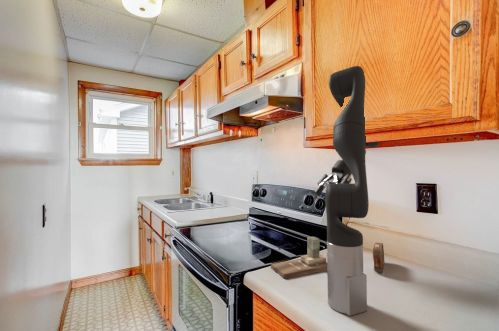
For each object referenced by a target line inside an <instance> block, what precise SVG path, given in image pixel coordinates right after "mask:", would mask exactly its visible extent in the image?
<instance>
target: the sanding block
mask: <svg viewBox="0 0 499 331" xmlns="http://www.w3.org/2000/svg"><path fill="white" fill-rule="evenodd" d="M320 242H321V241H320V238H318V237H316V236H308V237H307V242H306V243H307V245H306V246H307V248H306V250H307V252H306V253H307V254H304V255H300V259H301V262H303V263H305V264H307V265H308V266H309V265H315V264H321V263H326V262H327V256H324V255H322V254H321V253H320V244H321V243H320Z"/></svg>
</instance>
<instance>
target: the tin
mask: <svg viewBox="0 0 499 331" xmlns="http://www.w3.org/2000/svg"><path fill="white" fill-rule="evenodd" d="M384 250H385V249H384V243H383V242H375V243H374V245H373V247H372V259H373V270H374V272H378V273H384V269H385V252H384Z"/></svg>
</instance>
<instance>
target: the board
mask: <svg viewBox="0 0 499 331" xmlns="http://www.w3.org/2000/svg"><path fill="white" fill-rule="evenodd" d="M270 269H271V270H273V271H274V272H275V273H277V274H278V275H279V276H280V277H281V278H283V279H284V280H286V279H290V278H294V277H299V276H305V275H309V274H314V273H319V272H323V271H327V261H326V263H321V264H315V265H309V266H308V265H307V264H305V263H303V262H301V258H299V259H298V258H297V259H292V260H287V261H280V262H279V261H278V262H275V263H271V264H270Z"/></svg>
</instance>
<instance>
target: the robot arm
mask: <svg viewBox="0 0 499 331" xmlns="http://www.w3.org/2000/svg"><path fill="white" fill-rule="evenodd" d="M364 74H365V71H364V70H363V68H362V67H361V66H359V65H354V66H350V67H347V68H345V69H341V70H337V71H336V72H333V73H330V75H329V77H328V87H329V91H330V93H331V95H332V97H333V98H334V100H335V102H336V103H337V105H338V107H340V108H341V107H342V106H343V103H344V98H345V97H348V98H349V97H350V98H349V99H350V100H349V102H348V104H347V105H346V107H345V108H344V110H342V111H341V112H340V113H339V115H338V116H337V118H336V119H335V122H334V123H333V130H332V131H333V132H332V146H333V148H334V150H335V151H336V153H337V155H338V156H339V158H338V160H336V162H335V163H334V165H333V166H332V167H331V173H330V174H327V173H324V174H323V175H322V177H321V178H320V179H319V180H318V181H317V183H316V184H317V186H318V187H317V188H316V189H315V191H314V194H315V196H320V195H321V194H322V193H323V191H324V190H325V193H324V194H325V199H324V200H325V214H326V233H327V234H326V251H327V252H326V254H327V255H326V262H327V270H326V271H327V272H326V273H327V304H328V306H329V307H330V308H331V309H333V310H335V311H336V312H339V313H342V314H345V315H347V316H349V317H351V316H354V315H357V314H361V313H363V312H367V311H368V295H367V294H368V286H367V282H368V280H367V274H366V273H364V236H363V233H362V232H361V231H359V230H358V229H356V228H353V227H351V226H348V225H347V224H345V223H344V222H342V221H341V219H340V218H348V219H364V218H366V217H367V216H368V213H369V189H368V181H367V180H368V179H367V178H368V177H367V168H366V167H367V166H366V165H367V164H366V154H367V150H366V148H371V149H372V148H373V149H374V148H377V147H378V146H379V145H380V144H381V141H380V142H373V143H366V136H365V117H364V109H365V96H366V76H365V75H364ZM351 176H352V177H353V179H352V178H351ZM352 180H354V183H352Z"/></svg>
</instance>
